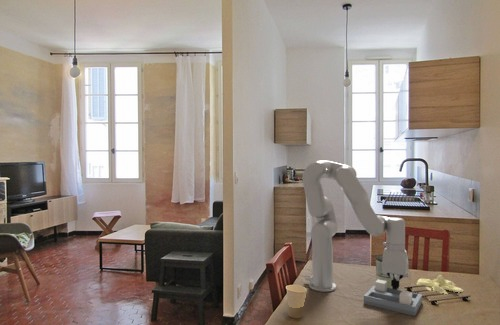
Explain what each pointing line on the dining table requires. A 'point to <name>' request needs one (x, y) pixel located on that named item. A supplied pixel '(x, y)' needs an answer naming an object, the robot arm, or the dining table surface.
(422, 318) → the dining table surface
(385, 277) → the coffee can
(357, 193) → the robot arm
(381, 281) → the tab
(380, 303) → the switch board
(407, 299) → the tab
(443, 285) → the cloth
